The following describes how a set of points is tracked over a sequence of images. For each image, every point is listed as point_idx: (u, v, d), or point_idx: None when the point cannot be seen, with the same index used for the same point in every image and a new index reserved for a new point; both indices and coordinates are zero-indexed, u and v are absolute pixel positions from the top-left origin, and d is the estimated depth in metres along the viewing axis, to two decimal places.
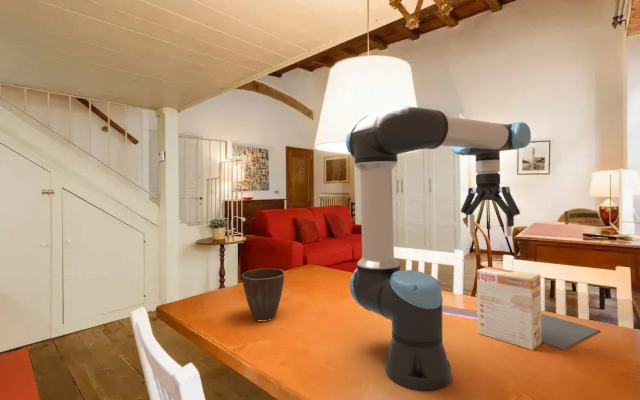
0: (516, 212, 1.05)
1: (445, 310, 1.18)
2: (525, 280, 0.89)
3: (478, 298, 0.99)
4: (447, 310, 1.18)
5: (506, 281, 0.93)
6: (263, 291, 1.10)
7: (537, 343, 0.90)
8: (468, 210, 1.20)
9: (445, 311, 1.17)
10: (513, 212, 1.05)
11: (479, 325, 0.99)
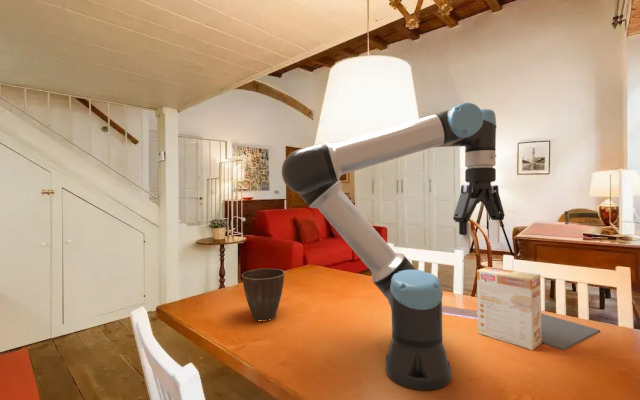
0: (455, 217, 0.85)
1: (445, 310, 1.18)
2: (525, 280, 0.89)
3: (478, 298, 0.99)
4: (447, 310, 1.18)
5: (506, 281, 0.93)
6: (263, 291, 1.10)
7: (537, 343, 0.90)
8: None
9: (445, 311, 1.17)
10: None
11: (479, 325, 0.99)
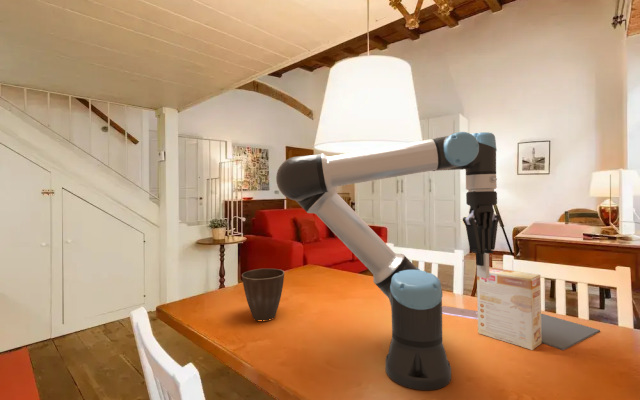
0: (472, 248, 0.88)
1: (445, 310, 1.18)
2: (525, 280, 0.89)
3: (478, 298, 0.99)
4: (447, 310, 1.18)
5: (506, 281, 0.93)
6: (263, 291, 1.10)
7: (537, 343, 0.90)
8: None
9: (445, 311, 1.17)
10: None
11: (479, 325, 0.99)
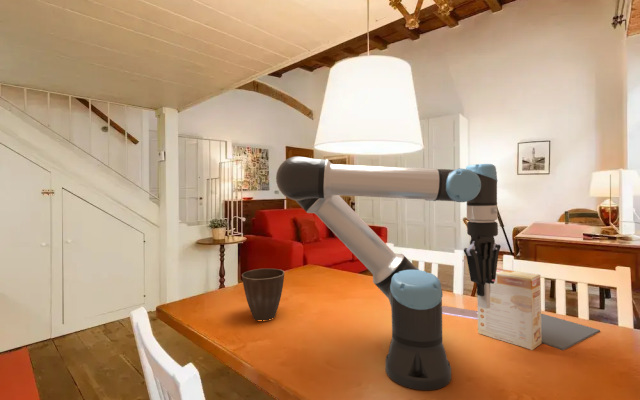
0: (472, 279, 0.89)
1: (445, 310, 1.18)
2: (525, 280, 0.89)
3: None
4: (447, 310, 1.18)
5: (506, 281, 0.93)
6: (263, 291, 1.10)
7: (537, 343, 0.90)
8: None
9: (445, 311, 1.17)
10: None
11: (479, 325, 0.99)
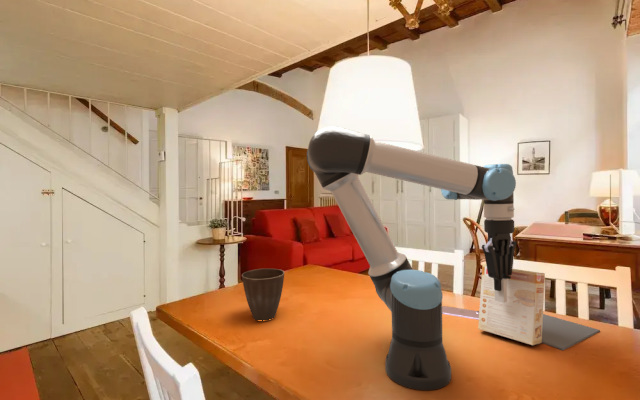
0: (490, 274, 0.92)
1: (445, 310, 1.18)
2: (530, 274, 0.91)
3: (481, 293, 1.00)
4: (447, 310, 1.18)
5: (511, 276, 0.95)
6: (263, 291, 1.10)
7: (537, 340, 0.90)
8: None
9: (445, 311, 1.17)
10: None
11: (480, 320, 1.00)
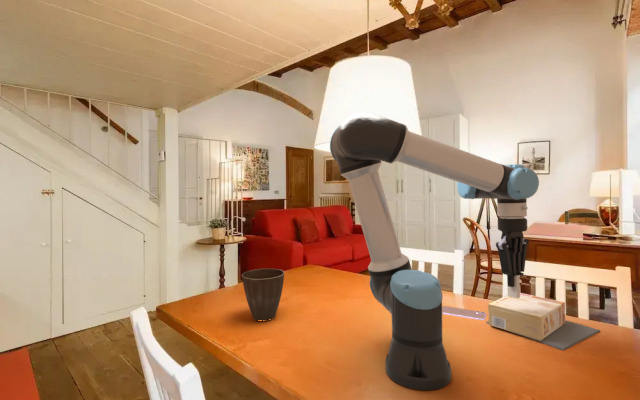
0: (504, 271, 0.96)
1: (445, 310, 1.18)
2: (559, 301, 1.04)
3: (505, 297, 1.10)
4: (446, 310, 1.18)
5: (540, 298, 1.07)
6: (263, 291, 1.10)
7: (542, 327, 0.93)
8: None
9: (444, 311, 1.17)
10: None
11: (493, 302, 1.05)
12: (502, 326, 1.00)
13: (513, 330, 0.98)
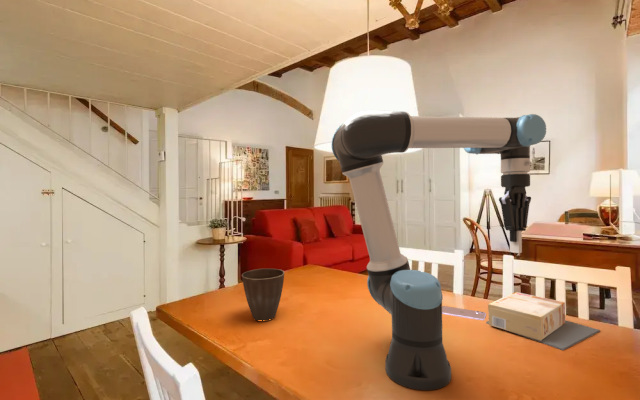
0: (506, 226, 0.97)
1: (444, 310, 1.18)
2: (559, 301, 1.04)
3: (504, 297, 1.10)
4: (446, 310, 1.18)
5: (540, 298, 1.07)
6: (263, 291, 1.10)
7: (542, 327, 0.93)
8: None
9: (444, 311, 1.17)
10: None
11: (493, 302, 1.05)
12: (502, 326, 1.00)
13: (513, 330, 0.98)
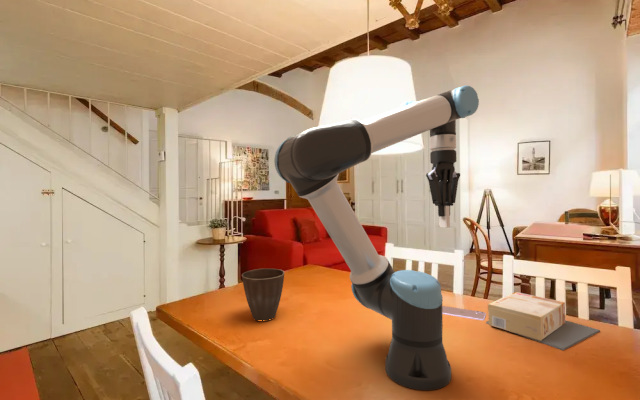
0: (434, 201, 1.00)
1: (444, 310, 1.18)
2: (559, 301, 1.04)
3: (504, 297, 1.10)
4: (446, 310, 1.18)
5: (540, 298, 1.07)
6: (263, 291, 1.10)
7: (542, 327, 0.93)
8: None
9: (444, 311, 1.17)
10: None
11: (493, 302, 1.05)
12: (502, 326, 1.00)
13: (513, 330, 0.98)
